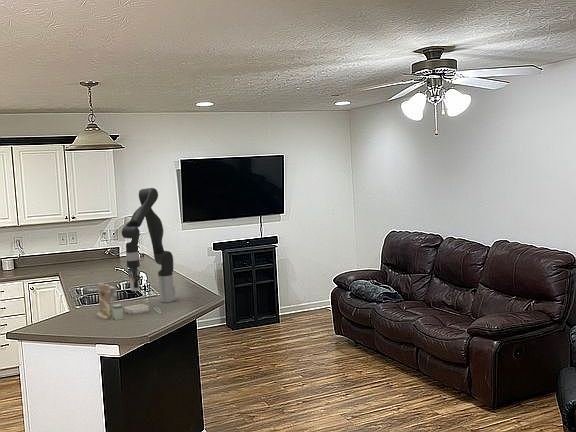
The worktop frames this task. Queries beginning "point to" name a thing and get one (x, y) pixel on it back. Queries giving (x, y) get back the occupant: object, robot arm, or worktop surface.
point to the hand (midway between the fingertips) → (134, 287)
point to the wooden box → (106, 300)
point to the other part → (117, 312)
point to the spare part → (133, 284)
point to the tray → (136, 309)
